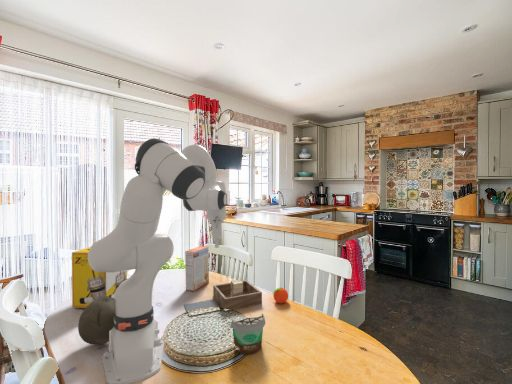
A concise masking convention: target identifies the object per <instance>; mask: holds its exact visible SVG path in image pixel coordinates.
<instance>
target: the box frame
mask: <svg viewBox="0 0 512 384" xmlns="http://www.w3.org/2000/svg"><path fill="white" fill-rule="evenodd" d="M241 281H242V282H243V293H244V292H246V294H243V295H240V296H234V297H231V296H230V297H226V296H229V295H231V282H228V283H227V282H226V283H221V284H216V285H215V284H214V285H213V286H212V288H213V289H212V290H213V291H212V292H213V293H212V294H213V299H214V300H215V302H216V303H217V304H218V306H219V307H220V308H221V309H222V308H226V309H233V310H232V311H236V310H239V309H244V308H249V307H252V306H256V305H262V304H263V293H262V292H263V291H261V290H259V288H257V287H256V286H254V285H253V284H252V283H250V282H249V281H248V280H247V279H244V280H241Z"/></svg>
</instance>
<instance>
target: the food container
mask: <svg viewBox="0 0 512 384" xmlns="http://www.w3.org/2000/svg"><path fill="white" fill-rule="evenodd" d="M265 325H266V319H265V315H264V313H261V315H260V316H256V317H247V318H244V319H242V320H238V321H234V320H233V319H231V321H230V328H232V335H233V345H234V344H235V346H237V348H238V351H239V352H238V351H237V352H238V353H239V354H242V355H252V354H257V353H258V352H259V351H260V350H261V348H262V342H263V334H264V327H265Z"/></svg>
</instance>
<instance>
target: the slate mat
mask: <svg viewBox="0 0 512 384" xmlns="http://www.w3.org/2000/svg"><path fill="white" fill-rule="evenodd" d="M183 306H184V309H185V311H186V312H188V311H192V310H196V309H200V308H209V307H219V308H221V306H220V305H219V303H218V302H217V301H216V299H215V298H212V299H207V300H203V301H197V302H191V303H186V304H183Z"/></svg>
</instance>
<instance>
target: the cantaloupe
mask: <svg viewBox="0 0 512 384" xmlns="http://www.w3.org/2000/svg"><path fill="white" fill-rule="evenodd" d="M115 312H116V305H115V299H114V298H112V297H109V296H103V297H99V298H97V299H95V300H94V301H92V302H91V303H90V304H89V305H88V306H87V307H86V308H83V311H82V313H81V314H80V315H79V316H80V317H79V319H78V325H77V330H78V334H79V337H80V338H81V340H82V341H83V342H85V343H87V344H89V345H96V346H97V345H98V346H99V345H104V344H107V343H109V331H110V330H111V329H112V328H113V327H114V313H115Z"/></svg>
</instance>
